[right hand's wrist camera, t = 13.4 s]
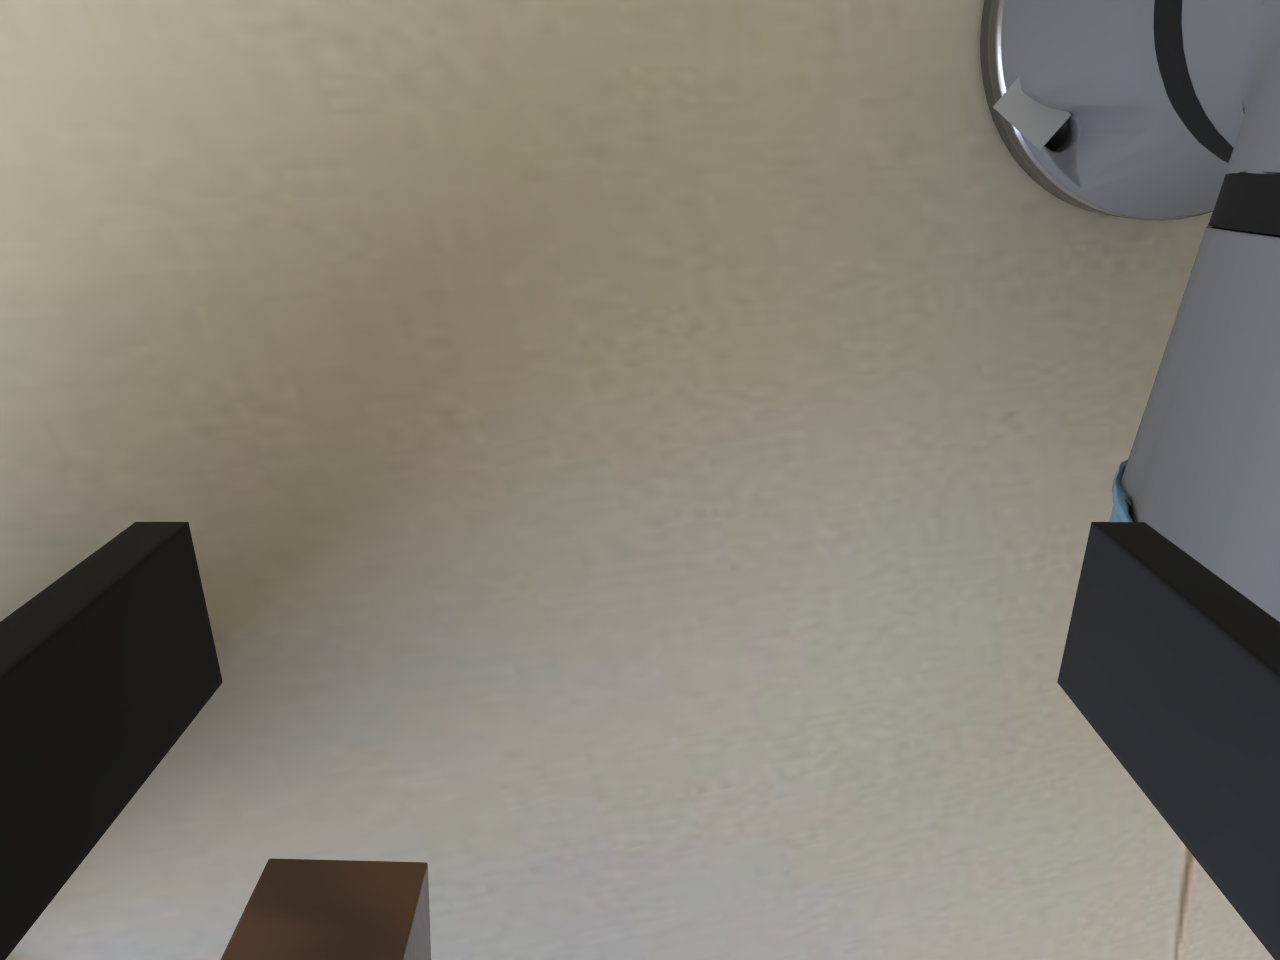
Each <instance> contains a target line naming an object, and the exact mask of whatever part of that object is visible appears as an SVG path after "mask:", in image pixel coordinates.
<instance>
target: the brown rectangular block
mask: <svg viewBox="0 0 1280 960" xmlns="http://www.w3.org/2000/svg"><path fill="white" fill-rule="evenodd" d="M221 960H431V945H430V917H429V889H428V864H427V863H424V862H384V861H344V860H303V859H269V860H268V862H267V864H266V866H265V868H264V870H263V872H262V875H261V877H260V879H259V881H258V883H257V885H256V887H255V889H254V891H253V893H252V895H251V898H250V900H249V902H248V904H247V906H246V908H245V910H244V912H243V914H242V916H241V918H240V920H239V923H238V925H237V927H236V929H235V931H234V933H233V935H232V937H231V939H230V941H229V943H228V945H227V948H226V950H225V952H224V954H223V956H222V958H221Z"/></svg>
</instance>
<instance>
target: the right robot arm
mask: <svg viewBox="0 0 1280 960" xmlns="http://www.w3.org/2000/svg"><path fill="white" fill-rule="evenodd" d="M980 47H981V68H982V76H983V84H984V88H985V93H986V97H987V102H988V105H989V108H990V111H991V114H992V117H993V120H994V123H995V125H996V127H997V129H998V132H999V134H1000V136H1001V138H1002V140H1003V141H1004V143H1005V145H1006V147H1007V148H1008V150H1009V152H1010V153H1011V154H1012V156H1013V157H1014V159H1015V160H1016V161H1017V163H1018V164H1019V165H1020V166H1021V168H1022V169H1023V170H1024V171H1025V172H1026V173H1027V174H1028V175H1029V176H1030V177H1031V178H1032V179H1033V180H1034V181H1035V182H1037V183H1038V184H1039V185H1040V186H1041V187H1043V188H1044V189H1045V190H1047V191H1048V192H1050V193H1051V194H1053V195H1054V196H1056V197H1057V198H1059V199H1061V200H1063V201H1065V202H1067V203H1069V204H1071V205H1073V206H1076V207H1079V208H1081V209H1084V210H1087V211H1091V212H1095V213H1099V214H1103V215H1110V216H1117V217H1124V218H1132V219H1140V220H1173V219H1182V218H1188V217H1193V216H1198V215H1202V214H1206V213H1209V212H1213V213H1212V216H1211V219H1210V222H1209V224H1208V226H1213V227H1207V228H1206V231H1205V234H1204V237H1203V240H1202V243H1201V246H1200V249H1199V252H1198V254H1197V257H1196V260H1195V263H1194V266H1193V269H1192V272H1191V275H1190V278H1189V281H1188V284H1187V287H1186V290H1185V293H1184V296H1183V299H1182V302H1181V305H1180V308H1179V311H1178V314H1177V317H1176V320H1175V323H1174V326H1173V329H1172V331H1171V334H1170V337H1169V340H1168V343H1167V346H1166V349H1165V352H1164V355H1163V358H1162V361H1161V364H1160V367H1159V370H1158V373H1157V376H1156V379H1155V382H1154V385H1153V388H1152V391H1151V394H1150V397H1149V400H1148V403H1147V406H1146V408H1145V411H1144V414H1143V417H1142V420H1141V423H1140V426H1139V429H1138V432H1137V435H1136V438H1135V441H1134V444H1133V447H1132V450H1131V453H1130V456H1129V459H1128V460H1126V461H1124V462H1122V463H1121V464H1120V466H1119V468H1118V470H1117V472H1116V474H1115V478H1114V482H1113V488H1112V492H1113V502H1114V506H1113V509H1112V513H1111V517H1110V521H1109V522H1092V523H1091V528H1090V533H1089V537H1088V542H1087V547H1086V551H1085V556H1084V561H1083V565H1082V570H1081V575H1080V579H1079V584H1078V589H1077V593H1076V598H1075V603H1074V607H1073V612H1072V617H1071V621H1070V626H1069V631H1068V635H1067V640H1066V645H1065V649H1064V654H1063V659H1062V663H1061V668H1060V673H1059V677H1058V684H1059V685H1060V686H1061V687H1062V689H1063V690H1064V691H1065V692H1066V694H1067V695H1068V696H1069V698H1070V699H1071V700H1072V701H1073V703H1074V704H1075V705H1076V706H1077V708H1078V709H1079V710H1080V712H1081V713H1082V714H1083V715H1084V717H1085V718H1086V719H1087V721H1088V722H1089V723H1090V724H1091V726H1092V727H1093V728H1094V729H1095V731H1096V732H1097V733H1098V735H1099V736H1100V737H1101V738H1102V740H1103V741H1104V742H1105V744H1106V745H1107V746H1108V747H1109V749H1110V750H1111V751H1112V752H1113V754H1114V755H1115V756H1116V758H1117V759H1118V760H1119V761H1120V763H1121V764H1122V765H1123V767H1124V768H1125V769H1126V770H1127V772H1128V773H1129V774H1130V775H1131V777H1132V778H1133V779H1134V781H1135V782H1136V783H1137V784H1138V786H1139V787H1140V788H1141V789H1142V791H1143V792H1144V793H1145V795H1146V796H1147V797H1148V798H1149V800H1150V801H1151V802H1152V804H1153V805H1154V806H1155V807H1156V809H1157V810H1158V811H1159V812H1160V814H1161V815H1162V816H1163V818H1164V819H1165V820H1166V821H1167V823H1168V824H1169V825H1170V827H1171V828H1172V829H1173V830H1174V832H1175V833H1176V834H1177V835H1178V837H1179V838H1180V839H1181V841H1182V842H1183V843H1184V844H1185V846H1186V847H1187V848H1188V850H1189V851H1190V852H1191V853H1192V855H1193V856H1194V857H1195V858H1196V860H1197V861H1198V862H1199V864H1200V865H1201V866H1202V867H1203V869H1204V870H1205V871H1206V872H1207V874H1208V875H1209V876H1210V878H1211V879H1212V880H1213V881H1214V883H1215V884H1216V885H1217V887H1218V888H1219V889H1220V890H1221V892H1222V893H1223V894H1224V895H1225V897H1226V898H1227V899H1228V901H1229V902H1230V903H1231V904H1232V906H1233V907H1234V908H1235V910H1236V911H1237V912H1238V913H1239V915H1240V916H1241V917H1242V918H1243V920H1244V921H1245V922H1246V924H1247V925H1248V926H1249V927H1250V929H1251V930H1252V931H1253V933H1254V934H1255V935H1256V936H1257V938H1258V939H1259V940H1260V941H1261V943H1262V944H1263V945H1264V947H1265V948H1266V949H1267V950H1268V952H1269V953H1270V954H1271V955H1272V957H1273V958H1274V959H1275V960H1280V0H985V2H984V8H983V15H982V24H981V40H980ZM221 684H222V677H221V673H220V668H219V663H218V659H217V654H216V649H215V645H214V640H213V635H212V631H211V626H210V621H209V617H208V612H207V607H206V603H205V598H204V593H203V589H202V584H201V579H200V575H199V570H198V565H197V561H196V556H195V551H194V547H193V542H192V537H191V533H190V528H189V523H188V522H135V523H134V524H132V525H131V526H130V527H128V528H127V529H126V530H124V531H123V532H121V533H120V534H119V535H117V536H116V537H115V538H113V539H112V540H111V541H109V542H108V543H107V544H105V545H104V546H103V547H101V548H100V549H98V550H97V551H96V552H94V553H93V554H92V555H90V556H89V557H88V558H86V559H85V560H84V561H82V562H81V563H80V564H78V565H77V566H75V567H74V568H73V569H71V570H70V571H69V572H67V573H66V574H65V575H63V576H62V577H61V578H59V579H58V580H57V581H55V582H54V583H52V584H51V585H50V586H48V587H47V588H46V589H44V590H43V591H42V592H40V593H39V594H38V595H36V596H35V597H34V598H32V599H31V600H30V601H28V602H27V603H25V604H24V605H23V606H21V607H20V608H19V609H17V610H16V611H15V612H13V613H12V614H11V615H9V616H8V617H7V618H5V619H4V620H2V621H1V622H0V960H5V959H6V958H7V957H8V955H9V954H10V953H11V952H12V950H13V949H14V948H15V947H16V945H17V944H18V943H19V941H20V940H21V939H22V938H23V936H24V935H25V934H26V933H27V931H28V930H29V929H30V927H31V926H32V925H33V924H34V922H35V921H36V920H37V918H38V917H39V916H40V915H41V913H42V912H43V911H44V910H45V908H46V907H47V906H48V904H49V903H50V902H51V901H52V899H53V898H54V897H55V895H56V894H57V893H58V892H59V890H60V889H61V888H62V887H63V885H64V884H65V883H66V881H67V880H68V879H69V878H70V876H71V875H72V874H73V872H74V871H75V870H76V869H77V867H78V866H79V865H80V864H81V862H82V861H83V860H84V858H85V857H86V856H87V855H88V853H89V852H90V851H91V850H92V848H93V847H94V846H95V844H96V843H97V842H98V841H99V839H100V838H101V837H102V835H103V834H104V833H105V832H106V830H107V829H108V828H109V827H110V825H111V824H112V823H113V821H114V820H115V819H116V818H117V816H118V815H119V814H120V812H121V811H122V810H123V809H124V807H125V806H126V805H127V804H128V802H129V801H130V800H131V798H132V797H133V796H134V795H135V793H136V792H137V791H138V789H139V788H140V787H141V786H142V784H143V783H144V782H145V781H146V779H147V778H148V777H149V775H150V774H151V773H152V772H153V770H154V769H155V768H156V767H157V765H158V764H159V763H160V761H161V760H162V759H163V758H164V756H165V755H166V754H167V752H168V751H169V750H170V749H171V747H172V746H173V745H174V744H175V742H176V741H177V740H178V738H179V737H180V736H181V735H182V733H183V732H184V731H185V729H186V728H187V727H188V726H189V724H190V723H191V722H192V721H193V719H194V718H195V717H196V715H197V714H198V713H199V712H200V710H201V709H202V708H203V706H204V705H205V704H206V703H207V701H208V700H209V699H210V698H211V696H212V695H213V694H214V692H215V691H216V690H217V689H218V687H219V686H220V685H221Z"/></svg>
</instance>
